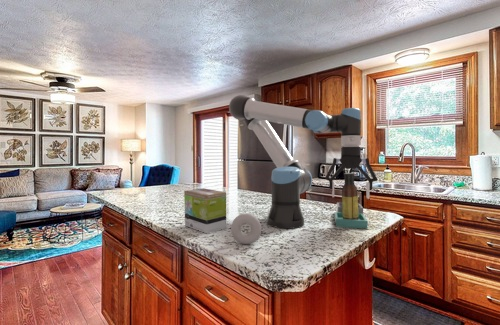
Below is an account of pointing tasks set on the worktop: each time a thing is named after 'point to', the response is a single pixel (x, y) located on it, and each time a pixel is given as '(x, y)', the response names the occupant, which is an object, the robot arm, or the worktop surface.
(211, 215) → the tea box
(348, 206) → the sauce bottle
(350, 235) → the worktop surface
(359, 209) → the bottle holder
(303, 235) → the worktop surface
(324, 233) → the worktop surface
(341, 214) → the tray
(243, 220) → the donut
